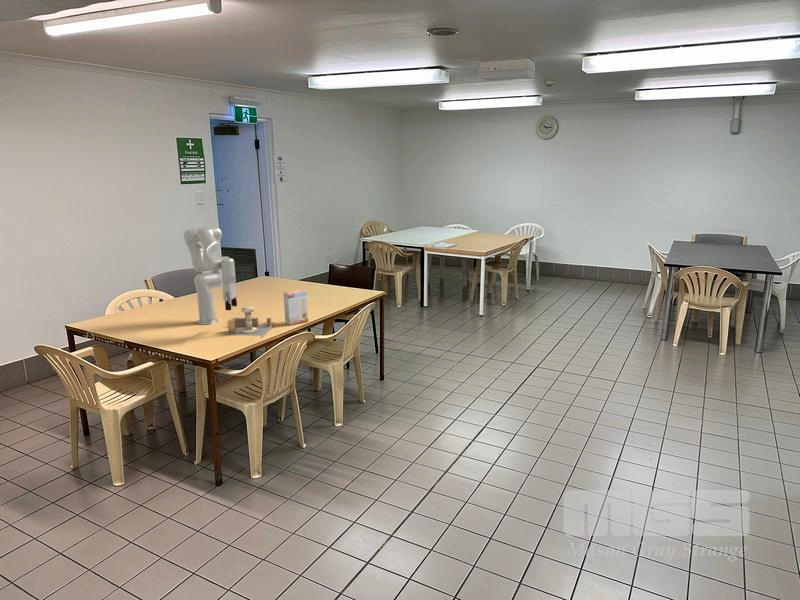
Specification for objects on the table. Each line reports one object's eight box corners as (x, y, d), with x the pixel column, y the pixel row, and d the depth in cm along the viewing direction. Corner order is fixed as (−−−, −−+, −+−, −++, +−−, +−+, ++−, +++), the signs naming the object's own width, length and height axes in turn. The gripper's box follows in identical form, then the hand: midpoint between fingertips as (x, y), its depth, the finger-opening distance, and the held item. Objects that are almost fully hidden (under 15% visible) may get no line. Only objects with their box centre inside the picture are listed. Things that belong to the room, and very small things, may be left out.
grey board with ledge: (234, 327, 335) (234, 317, 333) (271, 328, 334) (270, 317, 332) (223, 337, 316) (222, 326, 314) (262, 337, 314) (261, 327, 313)
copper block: (231, 330, 324) (230, 319, 322) (237, 330, 324) (236, 319, 322) (228, 332, 320) (227, 321, 318) (235, 332, 320) (234, 321, 318)
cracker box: (303, 319, 352) (302, 288, 347) (308, 321, 347) (307, 290, 342) (284, 323, 343) (282, 291, 338) (289, 325, 338) (287, 293, 333)
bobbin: (244, 329, 327) (242, 306, 324) (259, 329, 326) (257, 306, 323) (239, 333, 318) (237, 310, 315) (254, 333, 318) (252, 310, 314)
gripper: (227, 276, 323) (230, 304, 327) (217, 282, 306) (219, 311, 310) (240, 276, 322) (242, 304, 326) (230, 282, 306) (232, 311, 309)
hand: (231, 308), depth 318 cm, fingers open, 9 cm apart
